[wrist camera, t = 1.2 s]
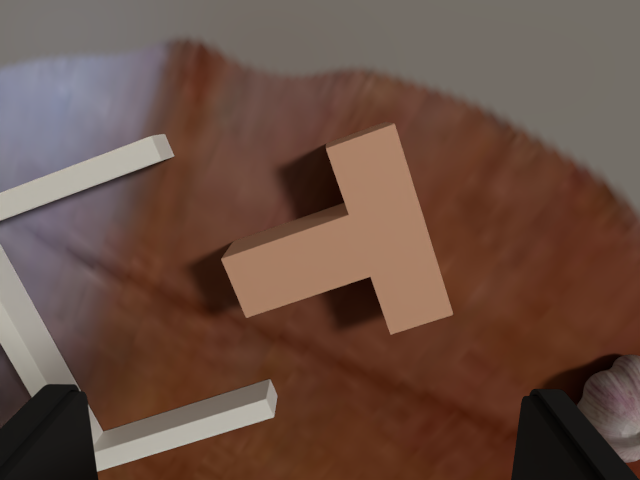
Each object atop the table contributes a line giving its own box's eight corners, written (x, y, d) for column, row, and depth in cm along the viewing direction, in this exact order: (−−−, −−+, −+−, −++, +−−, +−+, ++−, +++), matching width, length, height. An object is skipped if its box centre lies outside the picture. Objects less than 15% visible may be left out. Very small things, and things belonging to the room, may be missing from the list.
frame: (277, 396, 35) (274, 416, 33) (94, 453, 37) (78, 477, 34) (164, 133, 31) (151, 136, 28) (-42, 211, 32) (-72, 219, 30)
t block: (438, 290, 33) (453, 314, 29) (275, 343, 34) (269, 372, 31) (385, 122, 30) (394, 123, 26) (210, 185, 31) (194, 195, 28)
